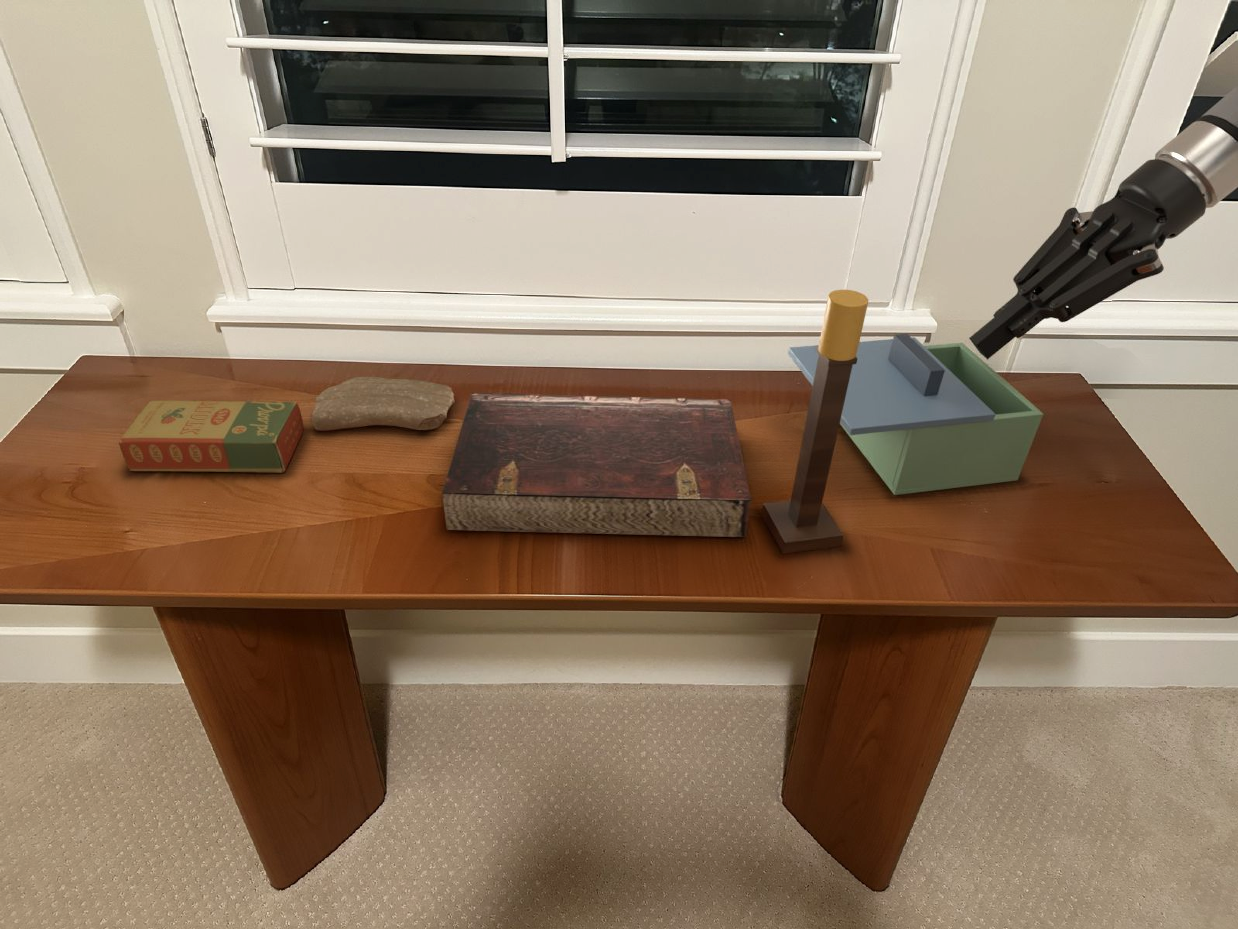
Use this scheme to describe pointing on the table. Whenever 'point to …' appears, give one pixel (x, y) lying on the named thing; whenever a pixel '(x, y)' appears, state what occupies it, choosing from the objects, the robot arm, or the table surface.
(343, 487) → the table surface
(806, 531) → the stand
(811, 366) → the lid
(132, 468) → the carton
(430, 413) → the decorative stone
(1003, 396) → the bin
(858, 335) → the peg
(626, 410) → the hardback book
